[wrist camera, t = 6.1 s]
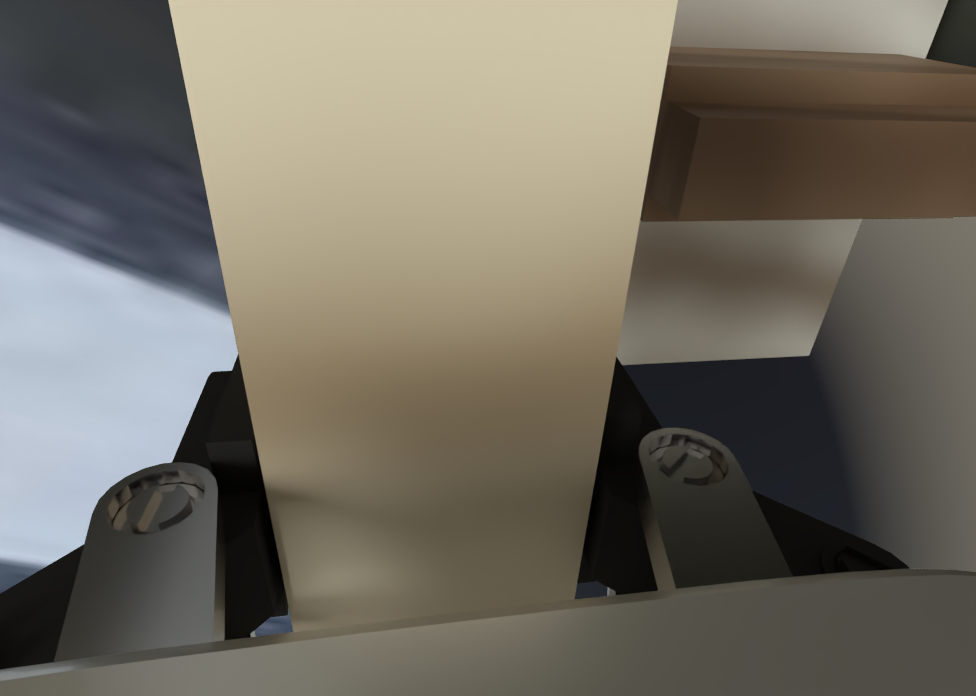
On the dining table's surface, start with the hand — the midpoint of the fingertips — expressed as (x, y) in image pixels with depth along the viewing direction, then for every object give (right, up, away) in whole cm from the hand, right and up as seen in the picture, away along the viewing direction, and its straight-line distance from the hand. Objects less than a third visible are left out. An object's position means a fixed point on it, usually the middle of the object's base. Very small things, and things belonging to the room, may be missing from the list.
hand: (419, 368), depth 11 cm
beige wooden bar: (0, -2, +4) cm, 4 cm away
